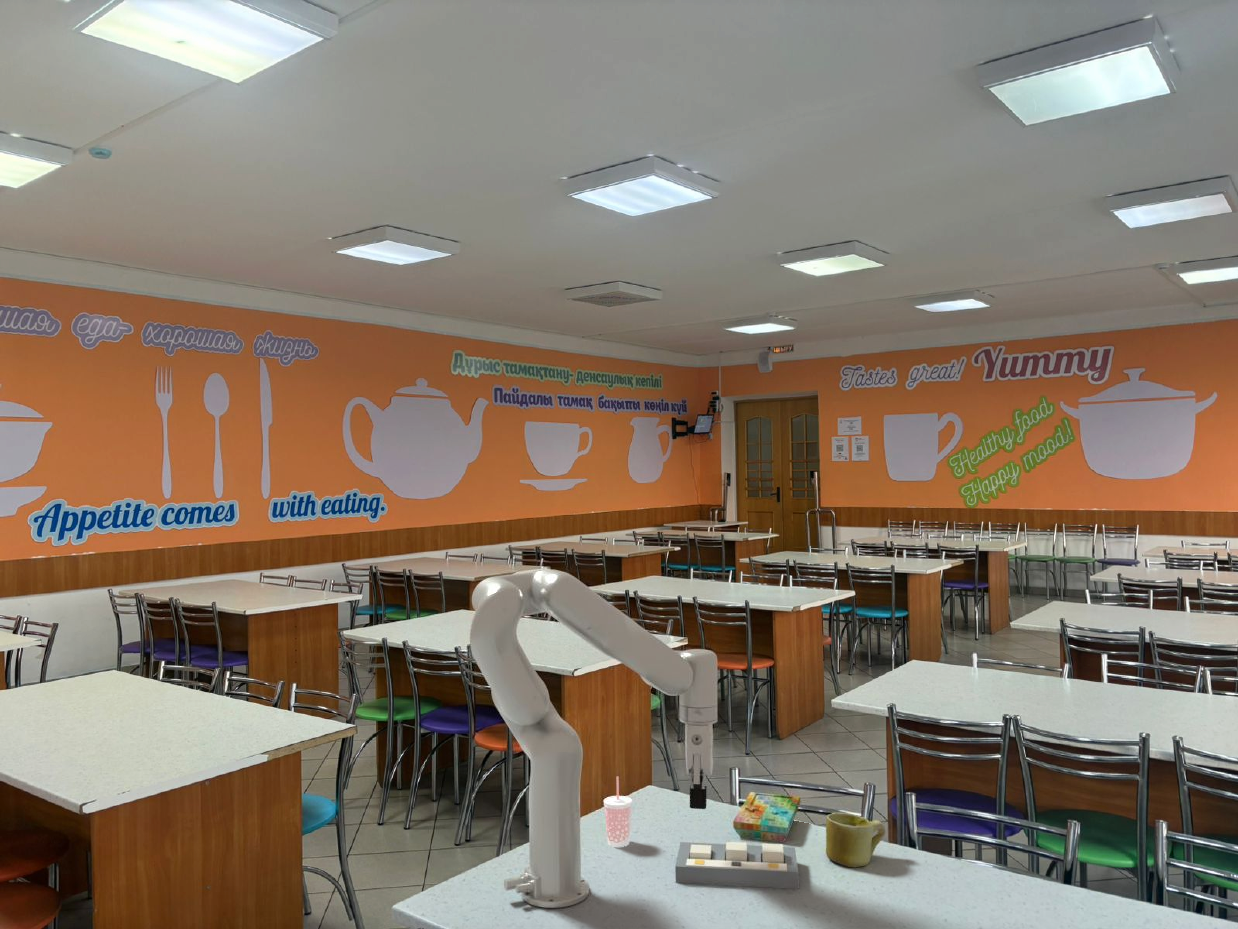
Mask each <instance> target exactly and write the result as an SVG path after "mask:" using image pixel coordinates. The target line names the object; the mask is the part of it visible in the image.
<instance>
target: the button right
mask: <svg viewBox="0 0 1238 929" xmlns="http://www.w3.org/2000/svg"><path fill="white" fill-rule="evenodd" d="M761 846H762V859H763V862H765V863H784V852H783V847H784V844H781V843H761Z"/></svg>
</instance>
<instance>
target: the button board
mask: <svg viewBox="0 0 1238 929" xmlns="http://www.w3.org/2000/svg"><path fill="white" fill-rule="evenodd" d="M691 845H711V853H712V860H704V859H690V849H691ZM783 852H784V863H765V862H763V859H762V845H755V844H753V845H749V844H747V862H745V861H726V843H725V844H724V843H710V842H707V843H706V842H687V841H685V842H684V841H680V843H679V847H678V852H677V857H676V862H675V870H674V871H675V872H674V873H675V883H678V884H679V883H680V884H681V883H682V884H697V883H700V885H702V884H703V885H718V886H737V887H738V886H741V887H756V888H757V887H758V888H774V889H775V888H776V889H789V890H790V889H793V890H794V889H796V890H798V889H799V869H798V862H797V853H796V852H797V851H796V847H792V846H783Z"/></svg>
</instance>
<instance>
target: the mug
mask: <svg viewBox="0 0 1238 929" xmlns="http://www.w3.org/2000/svg"><path fill="white" fill-rule="evenodd" d="M825 826H826V827H825V833H826V834H825V835H826V838H825V839H826V840H825V844H826V845H825V852H826V854H825V855H826V857H827V858H828V859H829V860H831V861H833V862H835V863H837V864H840V865H842V866H845V867H848V868H857V867H858V868H859V867H864V866H865V867H866V866H867V865H868V864H869V863H870V861H871V857H873V854H874V852H875V849H876V848H877V846H878V845H879V844H880V842H881V841H882V840H883V838H884V837H885V835H886V827H885V825H884V823H882V821H879V820H876V819H875V820H871V821H869V820H868V819H867V817H862V816H860V815H858V814H853V813H847V812H832V813H830V814H828V815H826V825H825ZM875 831H876V834H875V835H874V833H875Z"/></svg>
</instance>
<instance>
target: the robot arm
mask: <svg viewBox="0 0 1238 929" xmlns="http://www.w3.org/2000/svg"><path fill="white" fill-rule="evenodd" d="M471 604H472V608H473V610H474V612H475V613H474V615H473V618H472V621H471V625H470V628H469V629H470V630H469V631H470V632H469V645H470V650H471V653H472V656H473V659H474V661H475V663H476V665H477V666H478V668H479V670H480V672H481V673H482V675H483V678H484V679H485V682H487V685H488V686H489V688H490V690H491V698H492V701H493V703H494V704H493V705H494V707H495V708H496V710H497V711H498V712H499V715H500V716H501V717H502V719H503V720H504V722H505V724H506V725H507V727H508V728H509V730H510V732H511V734H512V735H513V737H514V738H515V739H516V741H517V743H518V745H519V746H520V748H521V750H522V751H523V752H524V754H526V756H527V757H528V759H529V760H530V776H529V787H528V818H529V820H528V821H529V822H528V823H529V824H528V825H529V827H528V829H529V830H528V831H529V832H528V833H529V835H528V836H529V837H528V838H529V866H528V867H524V873H521V874H520V876H517V877H511V878H506V879H504V880H503V885H504V891H506V892H507V891H508V892H509V891H511V890H515V892H516V894H520V895H521V898H522V899H523V900H524V901H525V902H526V903H528V904H530V905H531V906H535V907H538V908H546V909H547V908H550V909H557V908H565V907H566V908H567V907H569V906H574V905H576V904H578V903H580V902H582V901H584V900H585V899H586V898H587V897H588V895H589V893H590V884H589V882H588V880H586V879H585V878H584V877H582V876H581V874H582V872H581V870H582V868H581V867H582V866H581V864H582V863H581V861H582V860H581V858H582V856H581V853H582V852H581V850H582V849H581V777H582V776H581V774H582V767H583V758H584V757H583V755H584V753H583V751H584V750H583V745H582V742H581V739H580V736H579V735H578V733H577V731H576V730H575V729H574V728H573V727H572V725H570V724H569V723H568V722H567V721H565V720H564V719H563V718H562V717H561V716H560V715H559V713H558V711H557V709H556V708H555V706H554V705H553V703H552V701H551V700H550V699H551V698H550V694H549V690H548V688H547V685H546V684H545V682H544V680H542V678H541V677H540V676H539V674H538V673H537V672H536V670H535V668H534V665H532V663H531V662H530V660H529V658H528V656H527V655H526V652H525V650H523V646H521V644H520V642H519V640H518V639H519V638H518V636H517V635H518V634H517V629H518V624H519V622H520V620H521V618H522V617H525V616H531V615H537V614H541V613H547V614H548V615H549V616H551V617H552V618H554V619H555V620H557V622H559V623H561V625H563V626H565V627H566V628H567V629H569V630H570V631H571V632H572V633H574V634H576V636H579V637H580V639H582V640H584V641H585V642H586V643H587V644H589V645H590V646H592V647H593V648H595V649H596V650H598V651H599V652H600V653H603V655H606V656H607V657H608V658H609V657H610V658H611V659H613V660H615V661H617V662H619V663H621V664H623V665H625V666H626V667H627V668H628V669H631V670H632V671H634V672H635V673H637V674H638V675H639V676H640V678H641V680H643V682H644V683H646V684H647V685H649V686H650V687H652V688H654V689H656V690H658V691H659V692H661V693H663V694H664V695H667V696H671V697H672V696H673V697H674V696H679V697H678V698H679V702H678V703H679V706H678V708H679V709H678V710H679V712H678V713H679V714H678V715H679V718H678V720H679V722H680V723H683V724H685V725H684V731H685V732H684V733H685V734H684V735H685V736H684V739H685V744H684V746H685V747H684V748H685V770H686V774H687V775H688V776H690V785H689V786H690V787H689V808H690V809H697V810H706V809H707V787H708V786H707V785H706V781H707V780H706V778H707V777H711V776H712V774H713V768H714V734H713V733H714V732H713V729H714V728H713V724H716V723H718V657H717V653H715V652H714V651H713V650H710V649H709V650H708V649H702V648H694V649H693V648H692V649H691V648H690V649H686V650H674V649H672V648H671V647H670V646H668V644H666V643H665V642H663V641H662V640H661V639H660V638H658V637H657V636H655V635H653V634H652V633H651V632H649V631H648V630H646V629H645V628H643V627H642V626H641V625H640V624H638V623H637V622H636V621H635V620H633V619H632V618H630V616H628V615H627V614H625V613H624V612H622V611H621V610H620V609H618V608H617V607H615V606H614V605H613V604H612V603H610V602H609V601H607V600H606V599H605V598H603V597H602V596H600V595H599V594H598V593H597V592H595V590H593V589H592V588H590V587H589V586H587V585H586V584H585V583H584V582H582V581H580V580H579V579H578V578H577V577H575V576H573V575H572V574H570V573H568V572H566V571H561V570H557V569H543V570H537V571H528V572H523V573H521V572H520V573H513V574H504V575H497V576H491V577H487V578H485V579H483V580H481V581H480V582H479V583H477V585H476V587H475V588H474V589H473V592H472V595H471ZM706 776H707V777H706Z"/></svg>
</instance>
